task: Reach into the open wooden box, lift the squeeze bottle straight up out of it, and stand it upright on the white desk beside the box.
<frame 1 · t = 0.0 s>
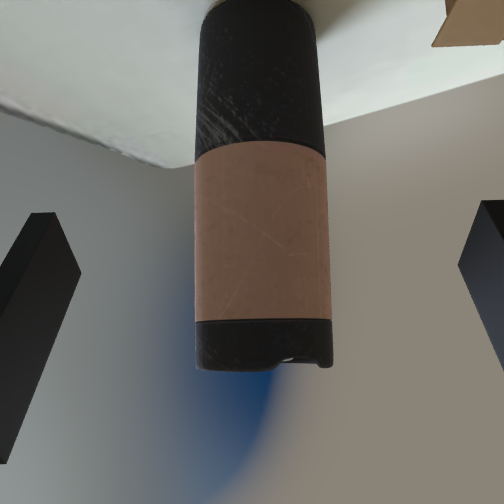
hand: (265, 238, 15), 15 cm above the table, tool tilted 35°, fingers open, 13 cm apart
travel mug: (257, 32, 29), on the table
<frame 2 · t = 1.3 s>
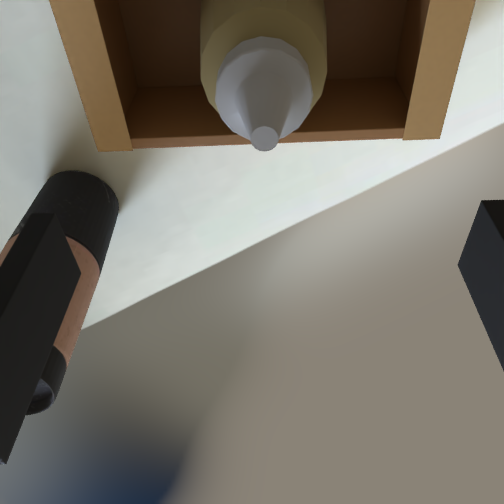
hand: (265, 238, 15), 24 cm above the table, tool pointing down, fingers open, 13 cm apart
squeeze bottle: (262, 4, 32), resting on wooden box
wooden box: (262, 4, 32), on the table
travel mug: (82, 199, 44), on the table
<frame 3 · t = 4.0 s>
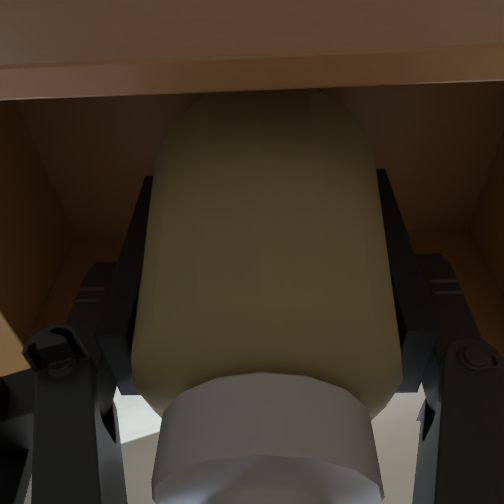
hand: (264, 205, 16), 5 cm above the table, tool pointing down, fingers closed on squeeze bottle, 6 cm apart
squeeze bottle: (264, 134, 20), resting on wooden box, touching gripper
wooden box: (264, 134, 20), on the table
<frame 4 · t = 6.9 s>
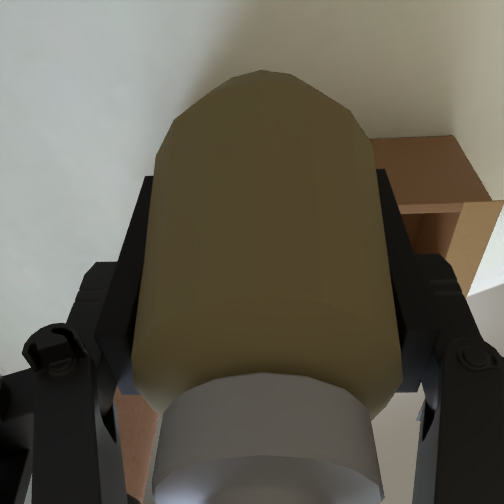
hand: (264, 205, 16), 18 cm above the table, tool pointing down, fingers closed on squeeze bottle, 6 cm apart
squeeze bottle: (264, 134, 20), point 13 cm above the table, touching gripper
wooden box: (304, 207, 39), on the table
travel mug: (138, 329, 51), on the table
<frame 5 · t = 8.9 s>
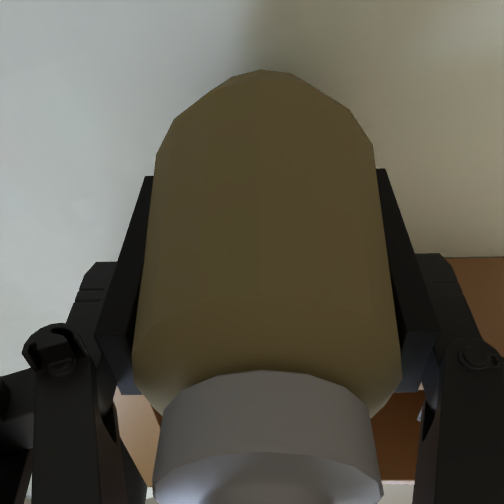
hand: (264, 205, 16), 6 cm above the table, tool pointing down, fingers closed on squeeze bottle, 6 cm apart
squeeze bottle: (264, 133, 20), point 1 cm above the table, touching gripper
wooden box: (315, 326, 31), on the table
travel mug: (116, 434, 44), on the table
when the fingers open (5 cm above the table, at t = 9.8 s): squeeze bottle stays where it is, on the table.
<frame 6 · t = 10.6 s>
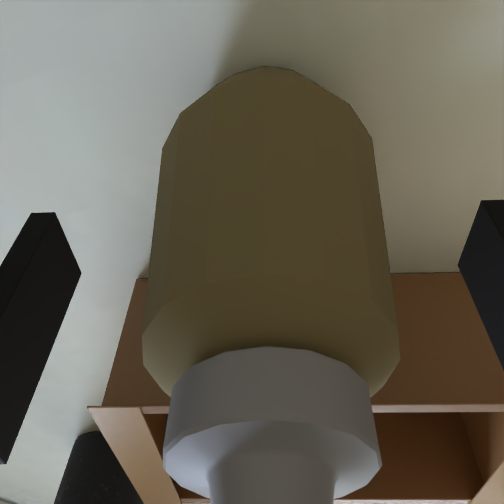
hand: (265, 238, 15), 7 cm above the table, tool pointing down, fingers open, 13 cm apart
squeeze bottle: (266, 129, 20), on the table
wooden box: (317, 340, 31), on the table
travel mug: (114, 446, 43), on the table
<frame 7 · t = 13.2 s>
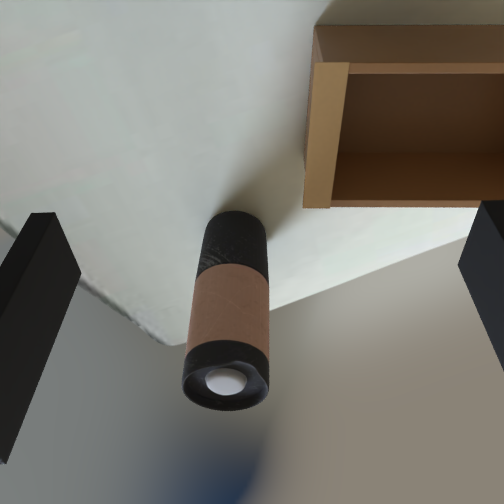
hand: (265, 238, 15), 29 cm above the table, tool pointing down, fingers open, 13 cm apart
wooden box: (427, 98, 42), on the table
travel mug: (235, 233, 54), on the table
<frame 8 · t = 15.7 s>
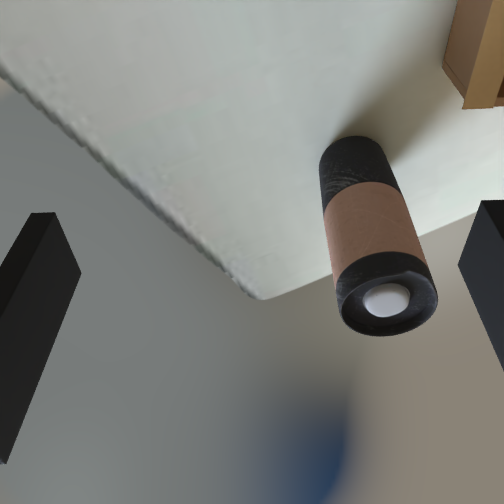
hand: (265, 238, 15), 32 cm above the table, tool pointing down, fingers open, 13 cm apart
travel mug: (351, 163, 50), on the table
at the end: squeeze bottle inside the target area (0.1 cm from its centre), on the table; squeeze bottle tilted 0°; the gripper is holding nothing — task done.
